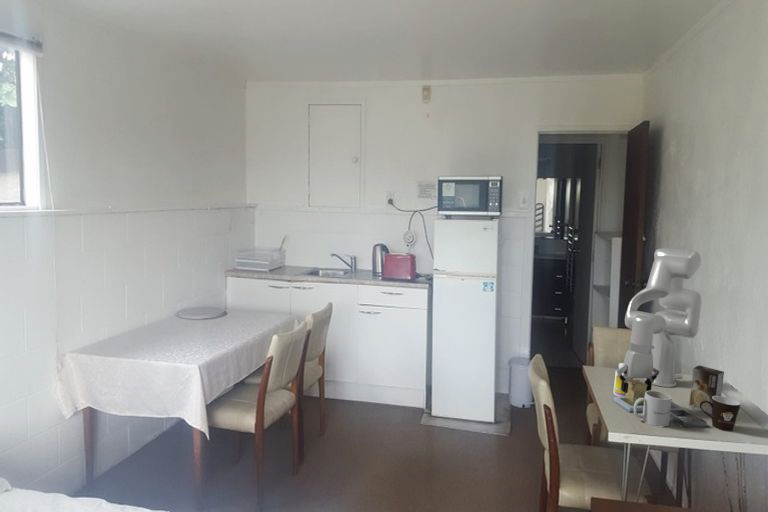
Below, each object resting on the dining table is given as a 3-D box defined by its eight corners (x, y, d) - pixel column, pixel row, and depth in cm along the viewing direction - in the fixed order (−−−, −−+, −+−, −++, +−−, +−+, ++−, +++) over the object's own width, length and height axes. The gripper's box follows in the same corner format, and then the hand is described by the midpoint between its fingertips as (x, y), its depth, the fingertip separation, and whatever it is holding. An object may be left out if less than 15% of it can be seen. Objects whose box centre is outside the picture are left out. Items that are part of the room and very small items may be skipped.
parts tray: (638, 400, 216) (638, 396, 216) (656, 411, 205) (656, 407, 205) (612, 400, 214) (613, 396, 214) (629, 412, 203) (630, 407, 203)
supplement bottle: (632, 399, 217) (636, 368, 215) (614, 397, 218) (618, 366, 217) (628, 393, 223) (632, 363, 222) (611, 391, 225) (614, 361, 223)
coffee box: (720, 412, 209) (725, 371, 207) (713, 415, 205) (719, 374, 203) (694, 404, 216) (699, 364, 214) (687, 407, 212) (692, 367, 210)
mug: (664, 418, 199) (667, 392, 198) (671, 428, 191) (675, 401, 190) (628, 414, 202) (631, 388, 200) (634, 423, 193) (637, 396, 192)
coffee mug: (738, 427, 195) (742, 400, 193) (734, 434, 188) (738, 407, 187) (702, 417, 202) (705, 391, 201) (696, 424, 196) (700, 397, 195)
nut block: (636, 402, 213) (638, 379, 212) (645, 407, 207) (647, 384, 206) (623, 402, 212) (626, 379, 211) (632, 407, 206) (634, 384, 205)
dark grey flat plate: (665, 402, 215) (665, 397, 215) (706, 427, 194) (706, 421, 193) (644, 403, 214) (644, 398, 213) (683, 427, 192) (684, 421, 192)
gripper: (654, 345, 212) (649, 387, 214) (614, 345, 209) (609, 388, 211) (667, 351, 205) (662, 395, 207) (625, 351, 202) (620, 395, 204)
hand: (635, 391), depth 209 cm, fingers open, 9 cm apart
